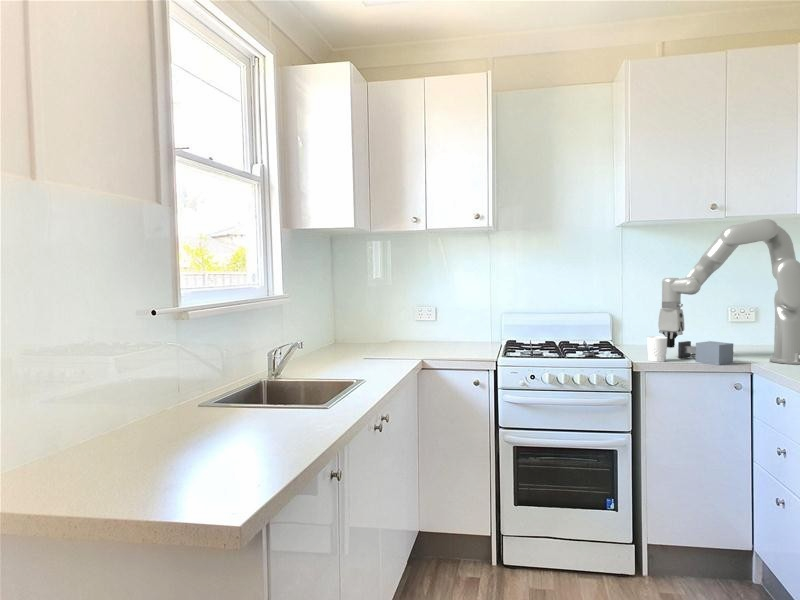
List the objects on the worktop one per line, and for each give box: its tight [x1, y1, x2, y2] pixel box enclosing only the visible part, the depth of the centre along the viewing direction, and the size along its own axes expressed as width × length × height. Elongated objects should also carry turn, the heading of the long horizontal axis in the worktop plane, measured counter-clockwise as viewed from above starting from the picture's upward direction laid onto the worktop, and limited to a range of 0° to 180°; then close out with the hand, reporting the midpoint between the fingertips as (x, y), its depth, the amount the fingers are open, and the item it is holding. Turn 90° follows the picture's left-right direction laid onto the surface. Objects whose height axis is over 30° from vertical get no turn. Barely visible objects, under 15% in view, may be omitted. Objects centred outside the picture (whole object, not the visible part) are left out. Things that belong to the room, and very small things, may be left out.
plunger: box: [677, 340, 696, 360], centre depth 251 cm, size 10×11×7 cm
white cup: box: [646, 335, 668, 363], centre depth 249 cm, size 8×8×10 cm
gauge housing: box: [693, 340, 734, 366], centre depth 248 cm, size 21×14×8 cm, turn 31°
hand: (670, 347), depth 260 cm, fingers closed
